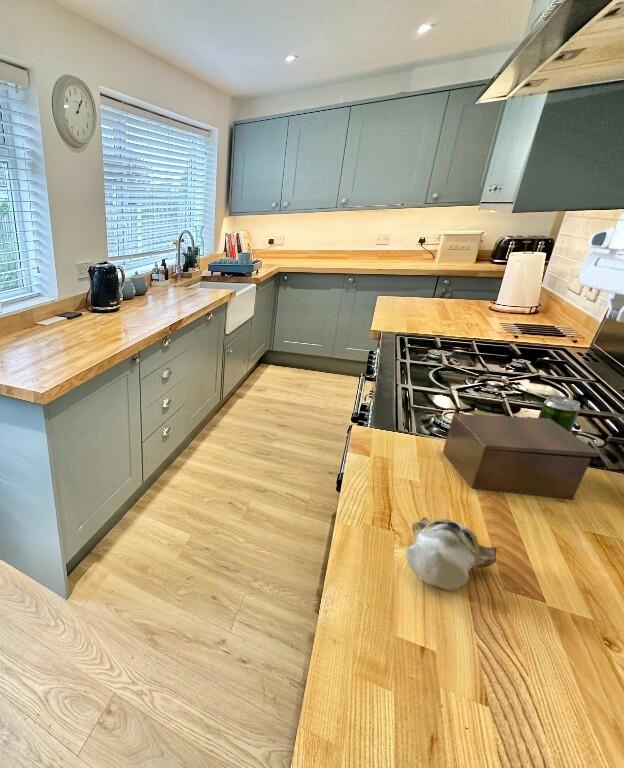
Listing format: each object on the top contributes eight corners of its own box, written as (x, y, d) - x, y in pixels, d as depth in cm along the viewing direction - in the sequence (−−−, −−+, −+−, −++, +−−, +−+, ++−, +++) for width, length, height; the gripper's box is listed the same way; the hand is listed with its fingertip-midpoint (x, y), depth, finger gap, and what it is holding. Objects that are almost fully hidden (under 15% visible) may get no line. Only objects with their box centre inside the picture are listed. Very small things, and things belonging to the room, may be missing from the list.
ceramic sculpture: (395, 524, 61) (429, 487, 69) (382, 570, 64) (416, 529, 72) (489, 567, 53) (514, 519, 62) (469, 618, 56) (495, 565, 65)
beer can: (566, 458, 88) (588, 407, 84) (533, 454, 90) (552, 404, 86) (554, 446, 93) (573, 397, 88) (522, 442, 95) (540, 394, 90)
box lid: (548, 421, 85) (549, 418, 84) (598, 457, 73) (599, 453, 72) (452, 416, 90) (453, 413, 89) (484, 449, 78) (485, 445, 77)
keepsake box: (528, 460, 88) (542, 423, 85) (573, 499, 76) (591, 458, 73) (442, 452, 93) (452, 417, 90) (471, 488, 81) (484, 449, 78)
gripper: (745, 241, 58) (698, 336, 63) (627, 233, 76) (598, 308, 81) (684, 243, 60) (643, 335, 65) (583, 235, 78) (557, 308, 83)
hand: (617, 320), depth 73 cm, fingers closed
